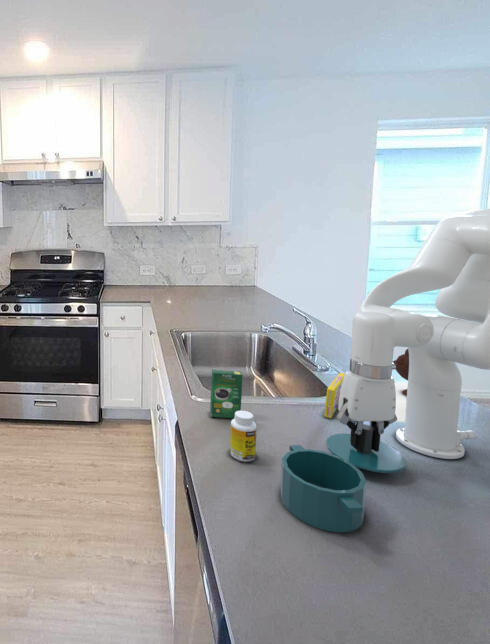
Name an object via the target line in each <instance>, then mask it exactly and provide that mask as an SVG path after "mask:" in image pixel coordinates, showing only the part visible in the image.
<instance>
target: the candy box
mask: <svg viewBox="0 0 490 644" xmlns="http://www.w3.org/2000/svg"><path fill="white" fill-rule="evenodd" d="M344 375H345V372H344V373H343V372H339V373H338V374H337V375H336V376H335V378H334V379H333V380H332V382H331V383H330V385H329V386H328V387H327V388H326V395H325V405H324V414H323V415H324V418H326V419H332V418H333V416H334V414H335V413H336V412H337V410H338V404H339V396H340V390H341V385H342V381H343V378H344Z"/></svg>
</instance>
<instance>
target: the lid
mask: <svg viewBox="0 0 490 644" xmlns="http://www.w3.org/2000/svg"><path fill="white" fill-rule="evenodd" d="M373 432H374V429H373V427H371V426H370V424H366V423H363V428H362V433H361V434H363V435H364V446H363V451H362V452H359V451H358V450H356V449H355V448H354V447H353V446H352V445H351V443H350V437H351V433H335V434H332V435H329V436H328V437H327V438H326V440H325V446H326V448H327V450H328V451H329V452H330V454H333V455H336V456H339V457H341V458H343V459H344V460H346V461H348V462H350V463H352V464H353V465H354V466H356V467H357V468H358V469H362V470H365V471H369V472H374V473H382V474H393V473H399V472H401V471H403V470H405V468H406V466H407V461H406V458H405V456H404V455H403V454H402V453H401V452H400V451H399V450H397V449H396V448H394V447H393V446H391V445H390V444H387V443H385V442H383V441H381V440H380V445H379V451H378V452H376V451H374V450H373V449H372V444H373Z"/></svg>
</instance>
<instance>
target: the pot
mask: <svg viewBox="0 0 490 644" xmlns="http://www.w3.org/2000/svg"><path fill="white" fill-rule="evenodd" d="M280 470H281V471H280V472H281V473H280V499H281V502H282V504H283V505H284V507H285V508H286V510H287V511H288V512H289V513H290V514H292V515H293V516H294V517H295V518H297V519H298V520H300V521H301V522H303V523H305V524H307V525H309V526H311V527H314V528H317V529H319V530H322V531H327V532H332V533H350V532H354V531H356V530H358V529H359V528H361V526H362V525H363V522H364V517H365V508H366V507H365V506H366V491H367V480H366V477H365V475H364V473H363V472H362V470H360V468H358V467H356V466H354V465H353V464H352V463H350V462H348V461H346V460H344V459H343V458H341V457H339V456H336V455H333V454H332V453H331V452H330V453H329V452H327V451H323V450H316V449H310V448H304V446H303V445H301V444H293V445H292V444H290V445H289V451H287V452H286V453H285V454H284V455H283V456H282V457H281V469H280Z"/></svg>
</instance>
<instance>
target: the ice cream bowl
mask: <svg viewBox="0 0 490 644" xmlns="http://www.w3.org/2000/svg"><path fill="white" fill-rule="evenodd" d="M393 363H394V364H395V365H396V369H395V371H396V372H397V374H398V375H399V376H400V377H401V378H402V379H404V380H405V381H408V375H409V350H408V348H407V349H405V351H404V353H403V354H401V355H398V357H397V358H396V359H395V360H394V359H393ZM401 393H402V395H404V396H406V397H407V388H406V389H403V390H402V391H401Z"/></svg>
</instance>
